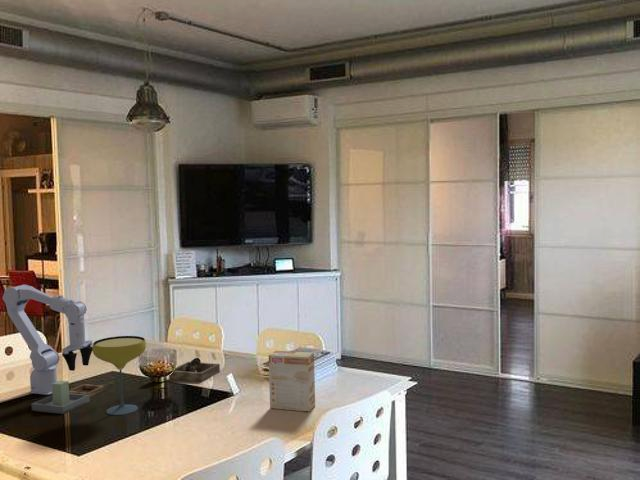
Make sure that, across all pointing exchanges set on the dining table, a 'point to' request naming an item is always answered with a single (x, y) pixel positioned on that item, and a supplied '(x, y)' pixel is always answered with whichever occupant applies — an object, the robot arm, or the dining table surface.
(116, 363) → the cocktail glass
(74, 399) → the tray
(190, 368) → the eagle figurine
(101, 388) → the square brown frame
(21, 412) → the dining table surface
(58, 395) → the green elongated block
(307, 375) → the coffeecake box
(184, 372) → the square serving dish
